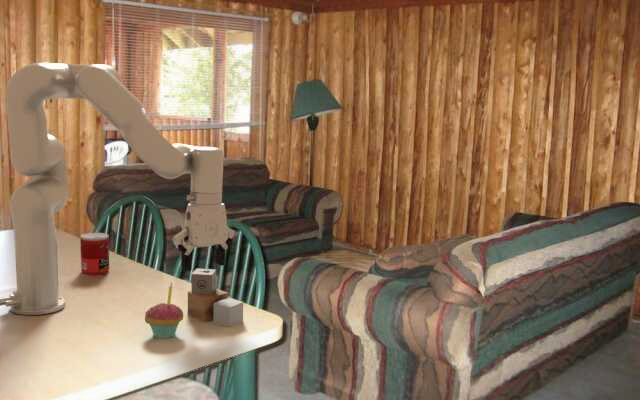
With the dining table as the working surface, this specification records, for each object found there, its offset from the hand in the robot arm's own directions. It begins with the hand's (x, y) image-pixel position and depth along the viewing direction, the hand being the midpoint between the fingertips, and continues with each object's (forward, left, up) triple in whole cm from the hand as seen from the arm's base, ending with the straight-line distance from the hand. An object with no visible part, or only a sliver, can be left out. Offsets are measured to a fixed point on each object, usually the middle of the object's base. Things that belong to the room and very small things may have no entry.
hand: (203, 267), depth 170 cm
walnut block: (0, -1, -12) cm, 12 cm away
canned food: (-4, +49, -12) cm, 51 cm away
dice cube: (0, 0, -6) cm, 6 cm away
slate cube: (+2, -9, -12) cm, 15 cm away
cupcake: (-15, -6, -12) cm, 20 cm away
